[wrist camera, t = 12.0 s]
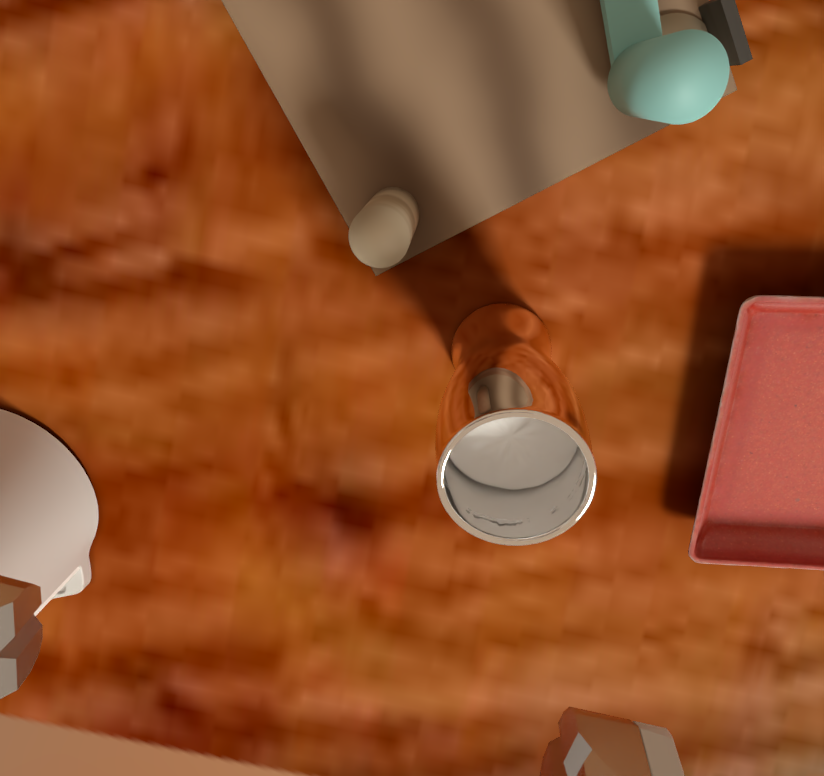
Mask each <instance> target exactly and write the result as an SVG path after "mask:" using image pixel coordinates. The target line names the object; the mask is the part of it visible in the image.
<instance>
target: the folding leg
mask: <svg viewBox="0 0 824 776" xmlns="http://www.w3.org/2000/svg"><path fill="white" fill-rule="evenodd" d="M600 5H601V11H602V16H603V22H604V28H605V34H606V40H607V46H608V52H609V57H610V63H611V69H610V71H609V75H608V84H607V87H608V93H609V97H610V99H611V101H612V103H613V105H614V106H615V107H616V108H617V109H618V110H619V111H620V112H622V113H623V114H625V115H628V116H631V117H636V118H642V119H647V120H652V121H658V122H663V123H669V124H686V123H690V122H693V121H696V120H698V119H700V118H701V117H703V116H704V115H706V114H707V113H708V112H710V111H711V110H712V109H713V108H714V107H715V106H716V104H717V103H718V102H719V100H720V99H721V97H722V95H723V94H724V91H725V89H726V86H727V83H728V79H729V71H730V68H729V59H728V56H727V52H726V50H725V48H724V47H723V45H722V44H721V42H720V41H719V40H718V39H717V38H716V37H714V36H713V35H711V34H710V33H708V32H705V31H702V30H697V29H688V30H682V31H678V32H674V33H671V34H667V35H663V36H662V29H661V21H660V14H659V7H658V0H600Z"/></svg>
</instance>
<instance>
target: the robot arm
mask: <svg viewBox="0 0 824 776" xmlns="http://www.w3.org/2000/svg"><path fill="white" fill-rule="evenodd" d="M97 526H98V505H97V500H96V496H95V492H94V490H93V487H92V485H91V482H90V480H89V478H88V476H87V474H86V473H85V471H84V469H83V468H82V466H81V465H80V463H79V462H78V461H77V460H76V458H75V457H74V456H73V455H72V453H71V452H70V451H69V450H68V449H67V448H66V447H65V446H64V445H63V444H62V443H61V442H60V441H58V440H57V439H56V438H55V437H54V436H52V435H51V434H50V433H48V432H47V431H46V430H44V429H43V428H41V427H40V426H38V425H36V424H35V423H33V422H31V421H29V420H27V419H25V418H23V417H21V416H19V415H17V414H14V413H11V412H9V411H5V410H2V409H0V699H1V698H3V697H5V696H7V695H8V694H10V693H12V692H14V691H16V690H18V688H19V687H20V685H21V684H22V683H23V681H24V680H25V679H26V677H27V676H28V674H29V673H30V671H31V669H32V667H33V665H34V663H35V660H36V658H37V656H38V654H39V651H40V646H41V642H42V624H41V623H40V622H39V621H38V619H37V618H36V617H35V616H36V615H37V614H38V613H39V612H40V611H41V610H42V609H43V608H44V606H45V605H46V604H47V603H48V602H49V601H50V600H51V599H54V598H58V597H63V596H68V595H73V594H77V593H79V592H81V591H82V590H83V589H84V588H85V587H86V586H87V585H88V584H89V583H90V581H91V567H90V560H89V550H90V547H91V544H92V542H93V539H94V537H95V534H96V531H97ZM558 723H559V731H560V737H558V738H556V739H554V740H552V741H550V742H549V744H548V746H547V749H546V751H545V754H544V756H543V760H542V766H541V771H540V776H685V775H684V772H683V769H682V766H681V763H680V760H679V756H678V753H677V750H676V747H675V744H674V741H673V737H672V735H671V734H670V732H669V731H668V730H667V728H662V727H658V726H653V725H649V724H645V723H640V722H636V721H631V720H628V719H624V718H619V717H615V716H610V715H606V714H601V713H596V712H592V711H587V710H583V709H578V708H573V707H568V708H567V709H566V710H565V711H564V712H563V714H562V716H561V718H560V720H559V722H558Z"/></svg>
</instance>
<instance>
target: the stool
mask: <svg viewBox="0 0 824 776" xmlns="http://www.w3.org/2000/svg"><path fill="white" fill-rule="evenodd" d="M222 2H223V4H224V6H225V7H226V9H227V11H228V13H229V15H230V16H231V18H232V20H233V22H234V24H235V25H236V27H237V29H238V31H239V32H240V34H241V36H242V38H243V40H244V41H245V43H246V45H247V47H248V49H249V50H250V52H251V54H252V56H253V57H254V59H255V61H256V63H257V65H258V66H259V68H260V70H261V72H262V74H263V75H264V77H265V79H266V81H267V82H268V84H269V86H270V88H271V90H272V91H273V93H274V95H275V97H276V99H277V100H278V102H279V104H280V106H281V107H282V109H283V111H284V113H285V115H286V116H287V118H288V120H289V122H290V124H291V125H292V127H293V129H294V131H295V132H296V134H297V136H298V138H299V140H300V141H301V143H302V145H303V147H304V149H305V150H306V152H307V154H308V156H309V157H310V159H311V161H312V163H313V165H314V166H315V168H316V170H317V172H318V174H319V175H320V177H321V179H322V181H323V182H324V184H325V186H326V188H327V190H328V191H329V193H330V195H331V197H332V198H333V200H334V202H335V204H336V206H337V207H338V209H339V211H340V213H341V215H342V216H343V218H344V220H345V222H346V223H347V225H348V227H349V243H350V247H351V249H352V251H353V253H354V254H355V256H356V257H357V258H358V259H359V260H360V261H361V262H363V263H364V264H366V265H368V266H371V268H372V270H373V272H374V273H375V275H376V276H377V275H379V274H381V273H383V272H385V271H387V270H389V269H390V268H392V267H394V266H396V265H398V264H400V263H402V262H404V261H406V260H408V259H410V258H412V257H414V256H416V255H418V254H420V253H422V252H423V251H425V250H427V249H429V248H431V247H433V246H435V245H437V244H439V243H441V242H443V241H445V240H447V239H449V238H451V237H453V236H455V235H456V234H458V233H460V232H462V231H464V230H466V229H468V228H470V227H472V226H474V225H476V224H478V223H480V222H482V221H484V220H486V219H488V218H489V217H491V216H493V215H495V214H497V213H499V212H501V211H503V210H505V209H507V208H509V207H511V206H513V205H515V204H517V203H519V202H521V201H522V200H524V199H526V198H528V197H530V196H532V195H534V194H536V193H538V192H540V191H542V190H544V189H546V188H548V187H550V186H552V185H554V184H555V183H557V182H559V181H561V180H563V179H565V178H567V177H569V176H571V175H573V174H575V173H577V172H579V171H581V170H583V169H585V168H587V167H588V166H590V165H592V164H594V163H596V162H598V161H600V160H602V159H604V158H606V157H608V156H610V155H612V154H614V153H616V152H618V151H620V150H621V149H623V148H625V147H627V146H629V145H631V144H633V143H635V142H637V141H639V140H641V139H643V138H645V137H647V136H649V135H651V134H653V133H655V132H656V131H658V130H660V129H662V128H664V127H666V126H668V125H670V124H669V123H663V122H658V121H652V120H647V119H642V118H636V117H631V116H628V115H625V114H623V113H622V112H620V111H619V110H618V109H617V108H616V107H615V106H614V105H613V103H612V101H611V99H610V97H609V93H608V87H607V84H608V75H609V71H610V69H611V63H610V57H609V52H608V46H607V40H606V34H605V28H604V22H603V16H602V11H601V5H600V0H222ZM658 7H659V14H660V21H661V29H662V36H663V35H667V34H671V33H674V32H678V31H682V30H688V29H697V30H702V31H705V32H708V33H710V34H711V35H713V36H714V37H716V38H717V39H718V40H719V41H720V42H721V44H722V45H723V47H724V48H725V50H726V52H727V56H728V59H729V68H730V66H733V65H742V64H743V63H745V62H747V61H749V60H751V59H753V58H752V55H751V52H750V48H749V45H748V42H747V39H746V35H745V32H744V29H743V26H742V22H741V19H740V16H739V13H738V9H737V6H736V3H735V0H710V1H709V0H658ZM736 90H737V87H736V84H735V81H734V78H733V75H732V72H731V69H730V71H729V79H728V83H727V86H726V89H725V91H724V94H723V95H722V97H724V96H726V95H728V94H730V93H732V92H734V91H736ZM722 97H721V98H722Z"/></svg>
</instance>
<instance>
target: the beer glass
mask: <svg viewBox="0 0 824 776" xmlns="http://www.w3.org/2000/svg"><path fill="white" fill-rule="evenodd" d="M451 353H452V361H453V365H454V368H455V371H454V373H453V375H452V377H451V379H450V381H449V383H448V385H447V387H446V389H445V392H444V395H443V397H442V400H441V403H440V406H439V412H438V417H437V423H436V439H435V450H436V467H437V472H436V484H437V490H438V494H439V497H440V500H441V502H442V505H443V506H444V508H445V510H446V512H447V513H448V514H449V516H450V517H451V518H452V519H453V520H454V521H455V522H456V523H457V524H458V525H459V526H460V527H461V528H463V529H464V530H465V531H467V532H468V533H470V534H472V535H474V536H476V537H478V538H480V539H482V540H485V541H488V542H492V543H496V544H501V545H511V546H521V545H530V544H536V543H540V542H543V541H546V540H549V539H551V538H554V537H556V536H558V535H560V534H561V533H563V532H565V531H566V530H568V529H569V528H570V527H572V526H573V525H574V524H575V523H576V522H577V521H578V520H579V519H580V518H581V517H582V516H583V514H584V513H585V512H586V510H587V509H588V507H589V505H590V503H591V501H592V499H593V496H594V493H595V489H596V483H597V470H596V464H595V460H594V457H593V452H592V445H591V440H590V434H589V429H588V425H587V422H586V418H585V414H584V411H583V408H582V406H581V404H580V401H579V399H578V397H577V394H576V392H575V390H574V388H573V387H572V385H571V384H570V382H569V381H568V379H567V378H566V376H565V375H564V374H563V372H562V371H561V370H560V369H559V368H558V366H557V365H556V364H555V363H554V362H553V361H552V360H551V355H552V345H551V339H550V336H549V333H548V331H547V329H546V327H545V326H544V324H543V323H542V321H541V320H540V319H539V318H538V317H537V316H536V315H535V314H533V313H532V312H531V311H529V310H527V309H525V308H523V307H521V306H518V305H514V304H507V303H498V304H491V305H487V306H484V307H482V308H480V309H478V310H476V311H474V312H473V313H471V314H470V315H469V316H468V317H466V318H465V319H464V321H463V322H462V323H461V324H460V326H459V327H458V329H457V331H456V333H455V335H454V338H453V342H452V349H451Z"/></svg>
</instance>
